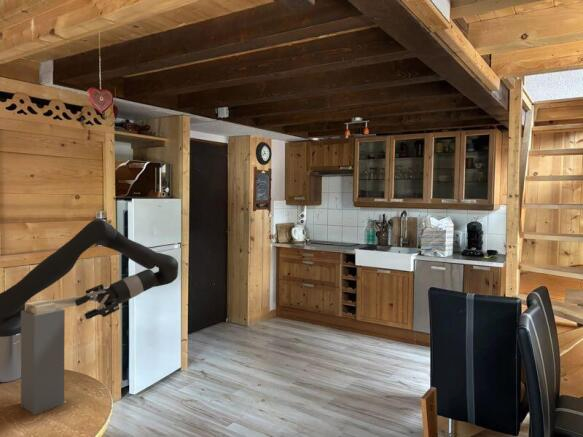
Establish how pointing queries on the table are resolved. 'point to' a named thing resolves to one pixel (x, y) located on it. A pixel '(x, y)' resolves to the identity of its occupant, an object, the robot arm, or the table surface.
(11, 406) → the table surface
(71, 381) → the table surface
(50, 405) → the tall grey pillar
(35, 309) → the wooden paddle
